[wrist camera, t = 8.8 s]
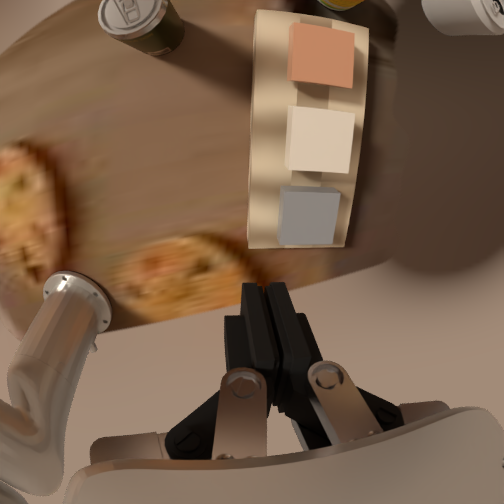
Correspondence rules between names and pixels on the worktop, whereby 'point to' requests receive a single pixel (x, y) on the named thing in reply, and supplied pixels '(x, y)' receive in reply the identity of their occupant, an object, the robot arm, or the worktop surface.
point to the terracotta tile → (320, 55)
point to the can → (466, 16)
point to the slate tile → (307, 215)
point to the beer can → (142, 24)
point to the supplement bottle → (340, 4)
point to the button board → (275, 125)
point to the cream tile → (318, 139)
